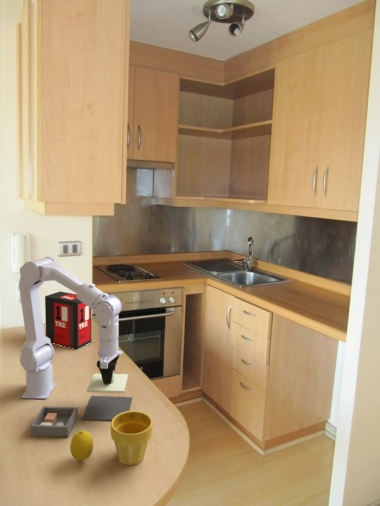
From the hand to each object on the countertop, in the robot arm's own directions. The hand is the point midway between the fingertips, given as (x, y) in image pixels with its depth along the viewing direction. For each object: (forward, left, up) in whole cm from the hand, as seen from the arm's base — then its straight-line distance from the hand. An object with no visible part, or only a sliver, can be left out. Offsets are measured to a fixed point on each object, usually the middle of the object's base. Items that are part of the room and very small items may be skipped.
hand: (108, 380), depth 127 cm
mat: (0, 0, -9) cm, 9 cm away
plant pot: (+22, +10, -9) cm, 26 cm away
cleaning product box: (-50, -26, -9) cm, 57 cm away
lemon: (+24, -2, -9) cm, 26 cm away
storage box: (+10, -13, -9) cm, 19 cm away
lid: (0, 0, -2) cm, 2 cm away
